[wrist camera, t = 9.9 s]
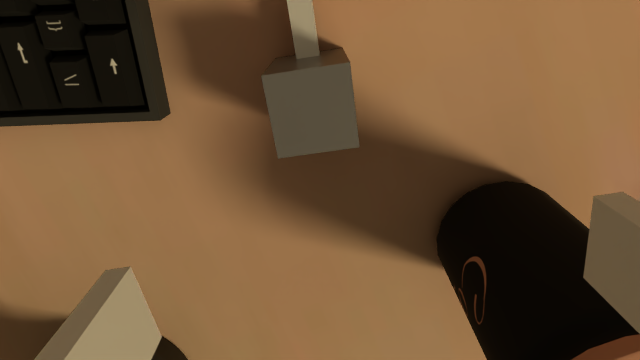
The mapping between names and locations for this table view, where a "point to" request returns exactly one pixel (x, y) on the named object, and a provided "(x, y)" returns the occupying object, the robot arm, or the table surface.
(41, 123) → the computer keyboard
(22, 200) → the table surface
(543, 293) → the coffee jar
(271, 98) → the charger
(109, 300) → the robot arm
